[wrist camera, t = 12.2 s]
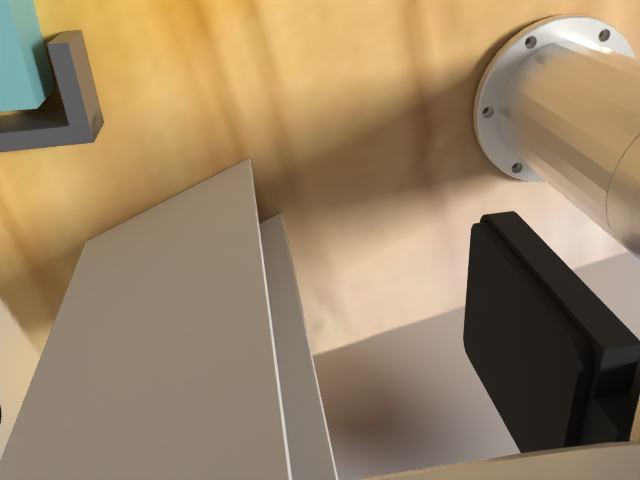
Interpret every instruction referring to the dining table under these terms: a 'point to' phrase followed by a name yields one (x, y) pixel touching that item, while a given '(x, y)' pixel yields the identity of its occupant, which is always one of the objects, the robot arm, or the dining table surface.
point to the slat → (22, 58)
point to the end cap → (78, 99)
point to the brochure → (178, 353)
